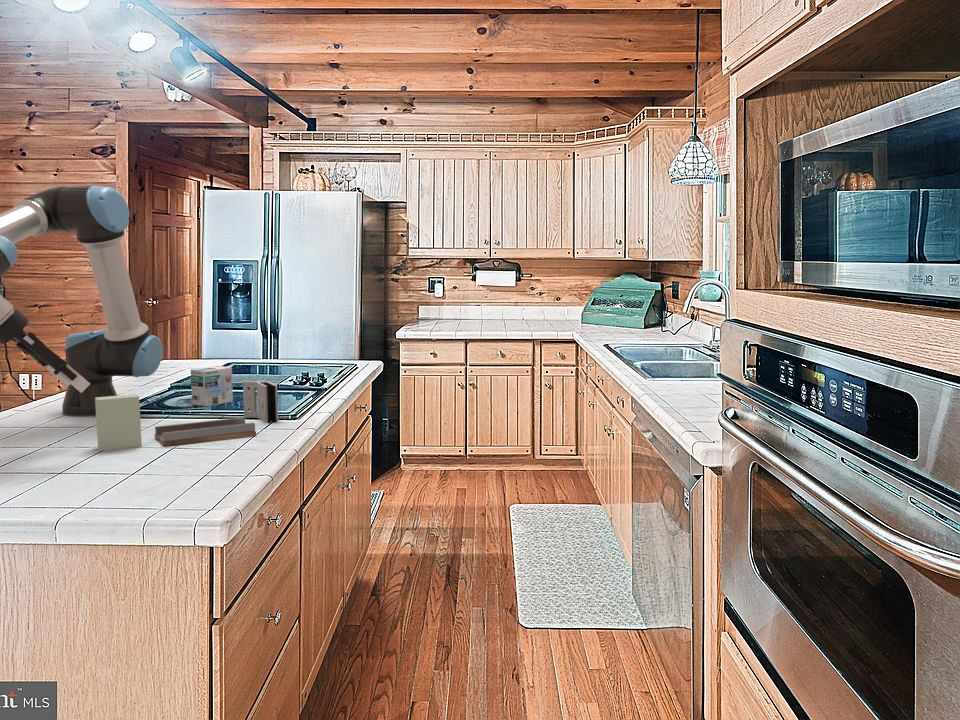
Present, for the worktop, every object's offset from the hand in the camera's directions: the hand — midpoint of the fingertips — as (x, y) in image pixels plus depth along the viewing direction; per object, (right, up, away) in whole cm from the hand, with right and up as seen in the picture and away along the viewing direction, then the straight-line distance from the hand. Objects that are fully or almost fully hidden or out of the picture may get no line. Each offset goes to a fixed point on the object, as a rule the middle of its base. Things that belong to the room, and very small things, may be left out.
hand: (78, 385), depth 192 cm
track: (+23, -13, +17) cm, 32 cm away
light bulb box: (+10, -8, +63) cm, 65 cm away
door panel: (+7, -15, +7) cm, 18 cm away
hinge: (+31, -11, +40) cm, 52 cm away
